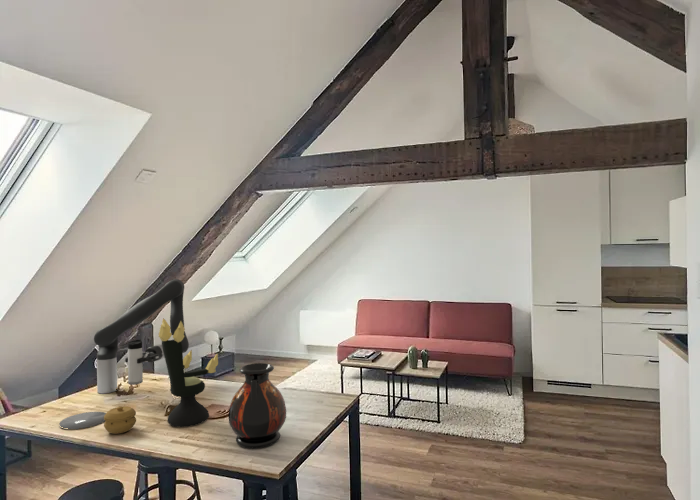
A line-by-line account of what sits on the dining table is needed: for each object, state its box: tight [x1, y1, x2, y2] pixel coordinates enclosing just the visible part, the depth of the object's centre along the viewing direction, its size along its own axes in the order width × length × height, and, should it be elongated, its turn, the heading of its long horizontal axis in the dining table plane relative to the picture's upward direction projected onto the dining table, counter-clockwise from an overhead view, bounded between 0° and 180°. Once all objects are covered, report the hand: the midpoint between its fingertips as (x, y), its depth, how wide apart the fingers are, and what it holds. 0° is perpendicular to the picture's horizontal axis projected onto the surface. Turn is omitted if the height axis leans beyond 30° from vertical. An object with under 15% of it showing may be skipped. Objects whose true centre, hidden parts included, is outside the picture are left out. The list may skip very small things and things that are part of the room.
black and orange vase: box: [227, 362, 287, 450], centre depth 174 cm, size 22×22×28 cm
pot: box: [103, 405, 137, 435], centre depth 186 cm, size 12×12×10 cm
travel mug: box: [127, 339, 144, 386], centre depth 218 cm, size 6×7×20 cm
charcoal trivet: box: [59, 411, 107, 430], centre depth 197 cm, size 18×18×1 cm
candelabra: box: [158, 318, 219, 428], centre depth 193 cm, size 19×22×45 cm
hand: (131, 360), depth 216 cm, fingers closed on travel mug, 6 cm apart
